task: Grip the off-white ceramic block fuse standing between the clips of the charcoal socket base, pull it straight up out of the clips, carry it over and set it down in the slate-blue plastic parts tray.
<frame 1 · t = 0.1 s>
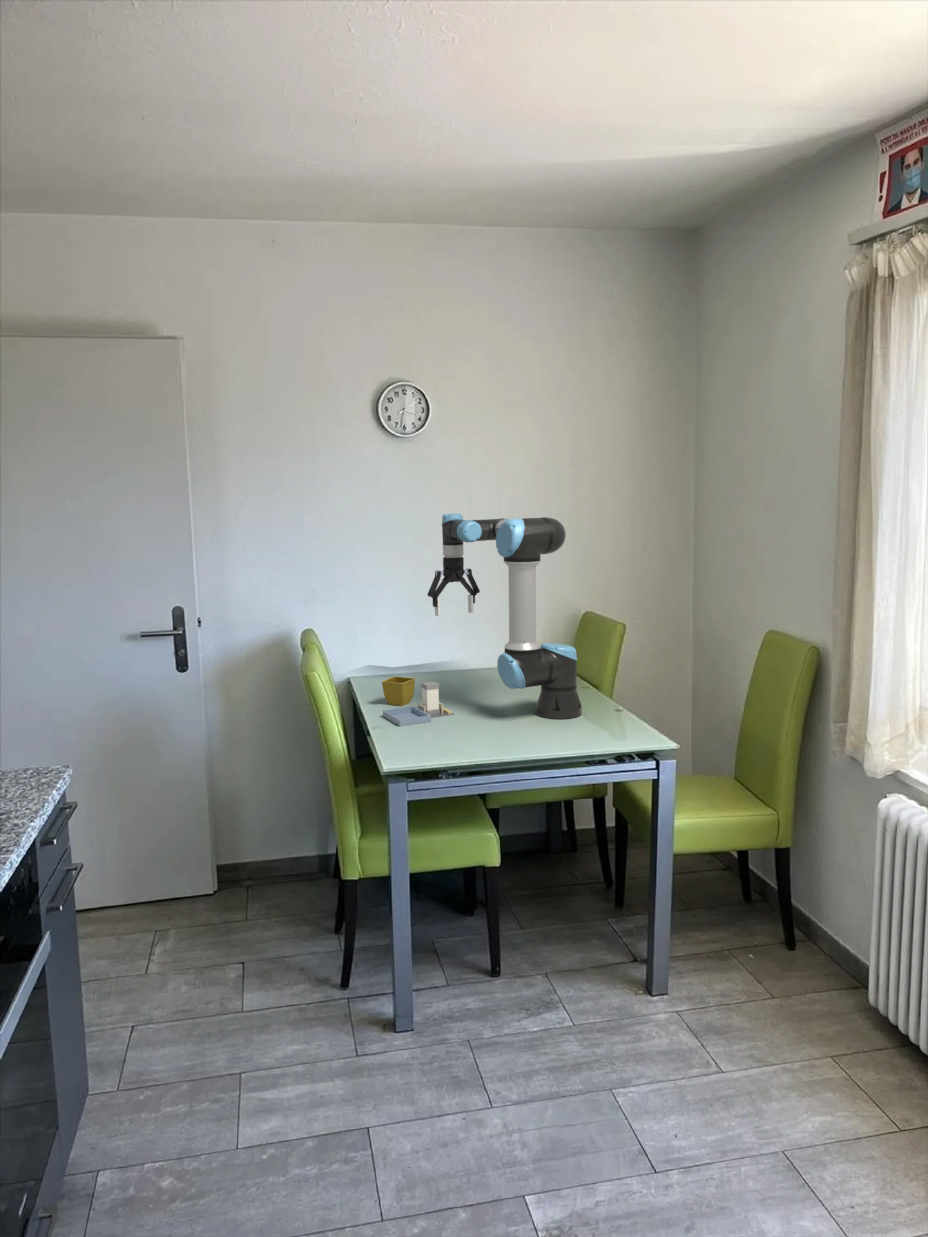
hand: (454, 614, 334), 28 cm above the table, fingers open, 13 cm apart
tray: (406, 720, 296), on the table
flower pot: (399, 705, 316), on the table
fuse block: (433, 713, 303), on the table
fuse: (430, 712, 303), resting on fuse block
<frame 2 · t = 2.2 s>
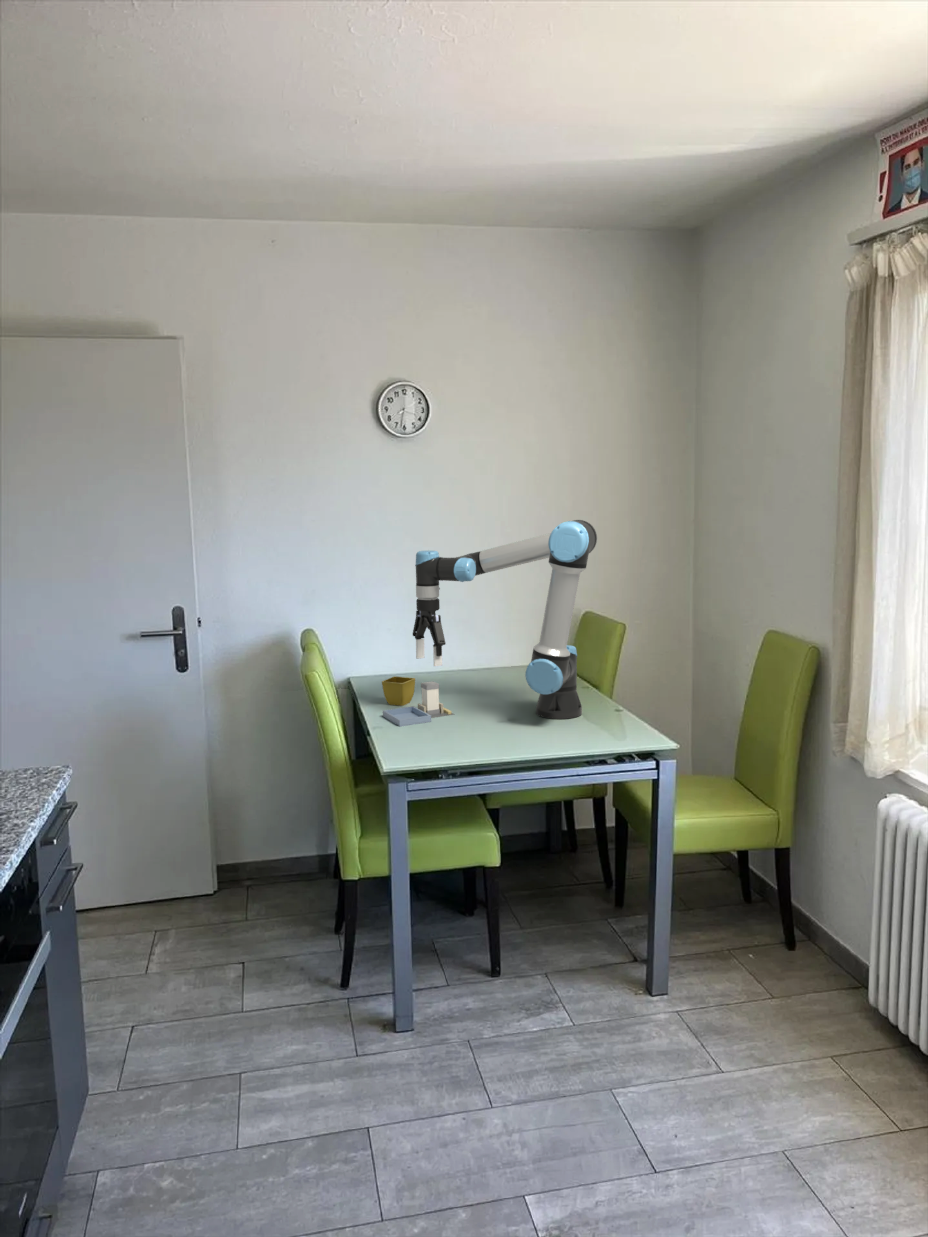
hand: (428, 662, 300), 18 cm above the table, fingers open, 13 cm apart
nothing on the table moved.
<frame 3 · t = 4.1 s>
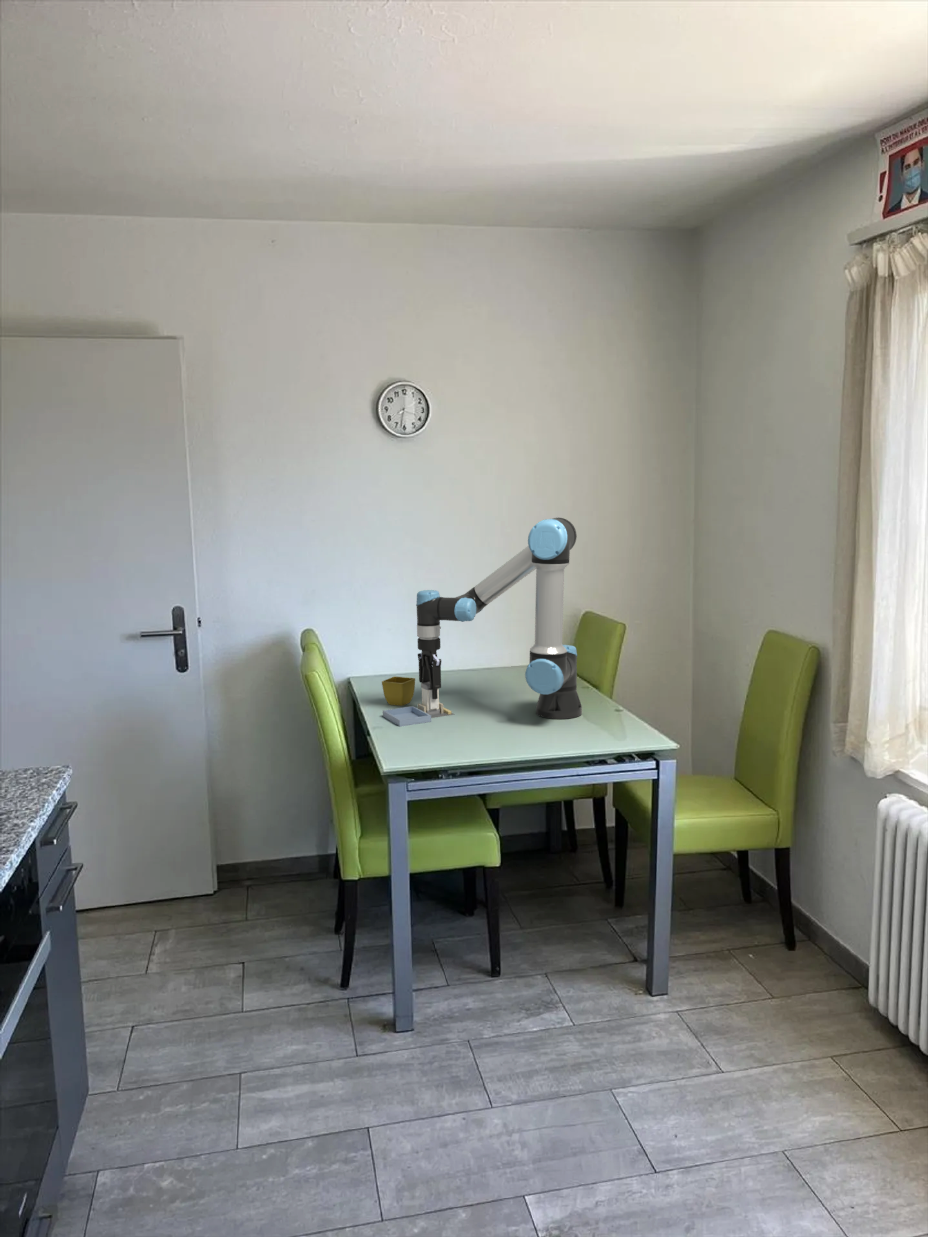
hand: (430, 706, 302), 3 cm above the table, fingers closed on fuse, 4 cm apart
fuse: (430, 712, 303), point 1 cm above the table, touching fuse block, gripper
everything else where it was.
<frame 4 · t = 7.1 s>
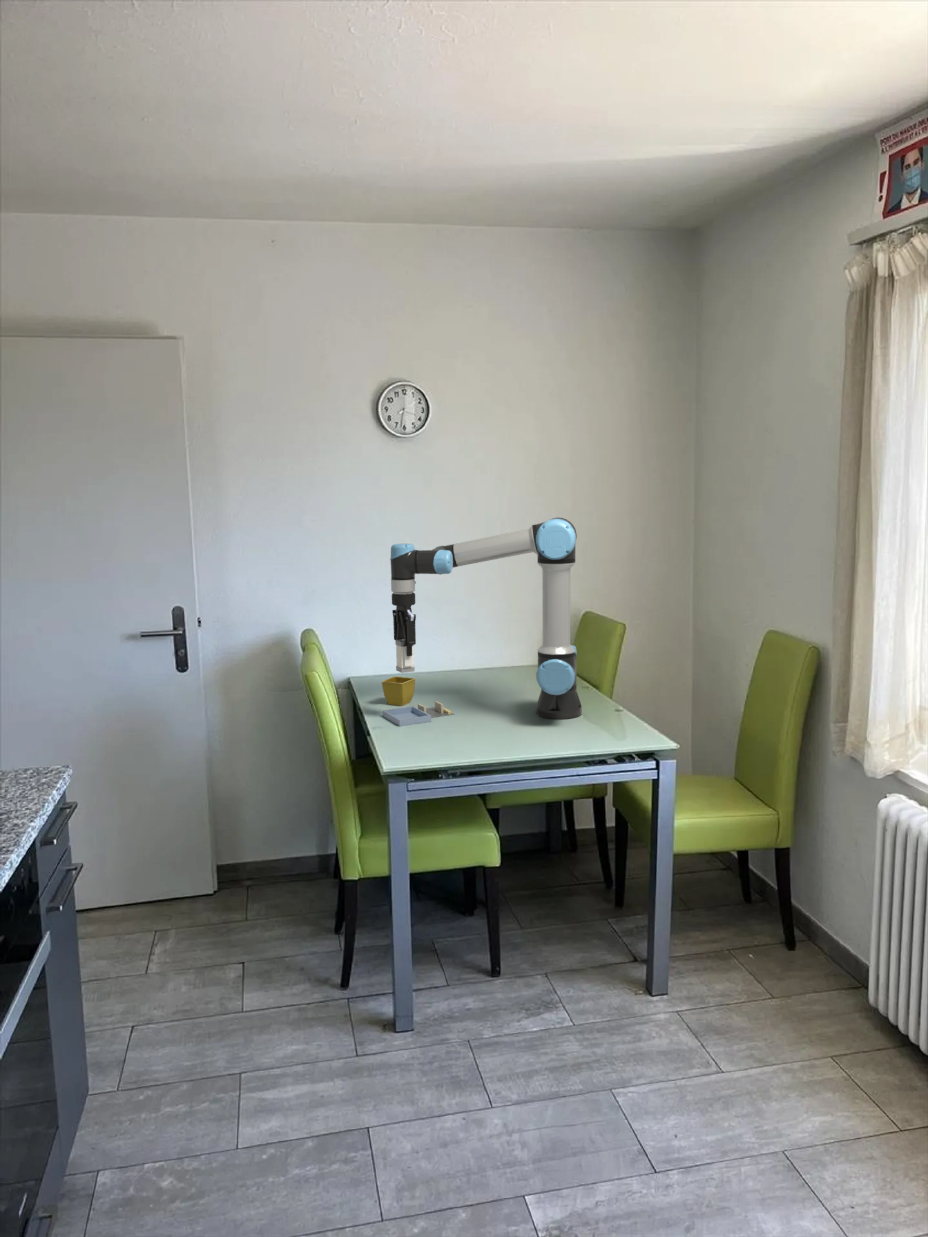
hand: (405, 664, 293), 19 cm above the table, fingers closed on fuse, 4 cm apart
fuse: (405, 670, 293), point 16 cm above the table, touching gripper
everything else where it was.
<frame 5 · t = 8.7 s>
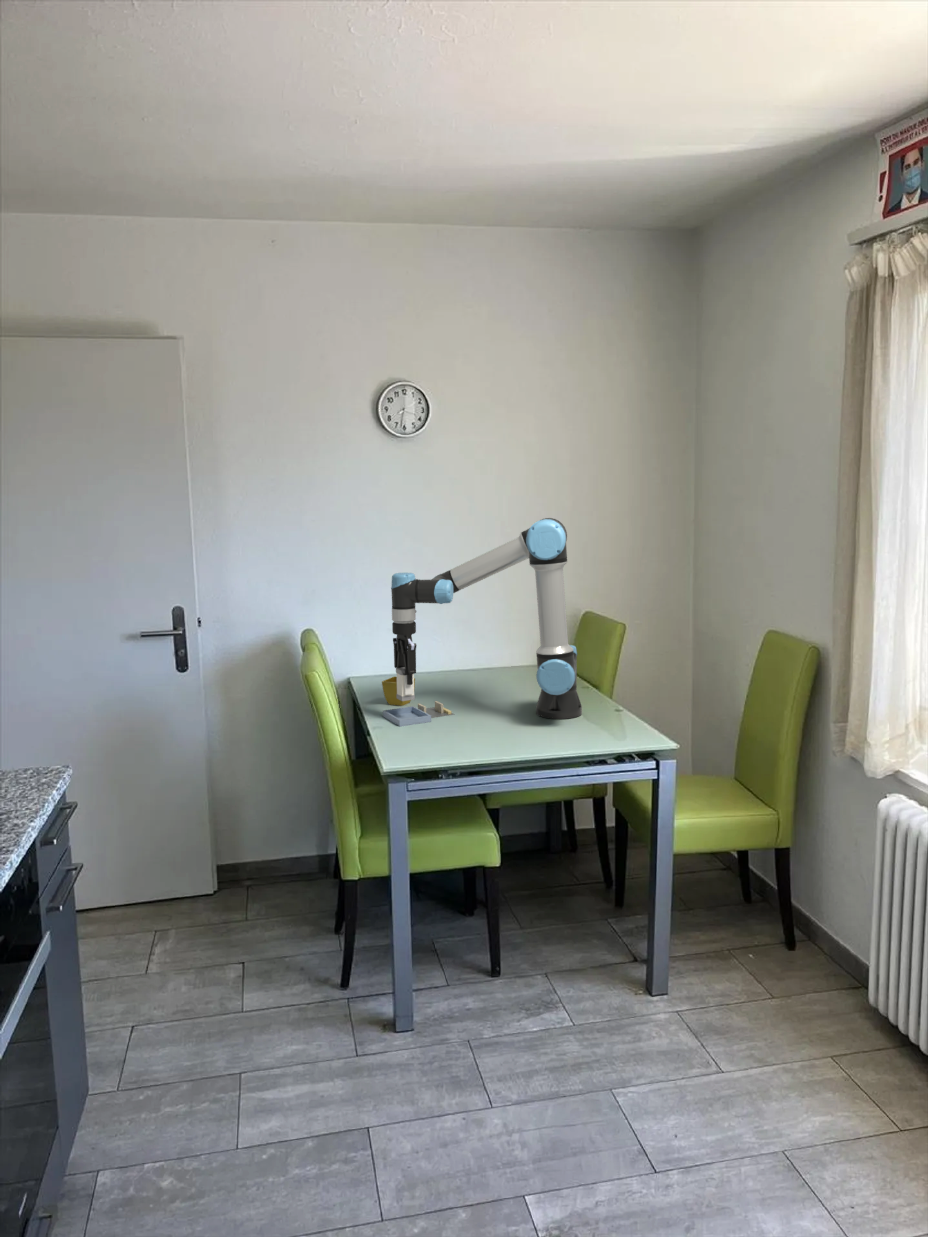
hand: (405, 692, 294), 9 cm above the table, fingers closed on fuse, 4 cm apart
fuse: (405, 698, 294), point 7 cm above the table, touching gripper
everything else where it was.
when the fingers open (4 cm above the table, at t = 10.0 s): fuse drops 1 cm, resting on tray.
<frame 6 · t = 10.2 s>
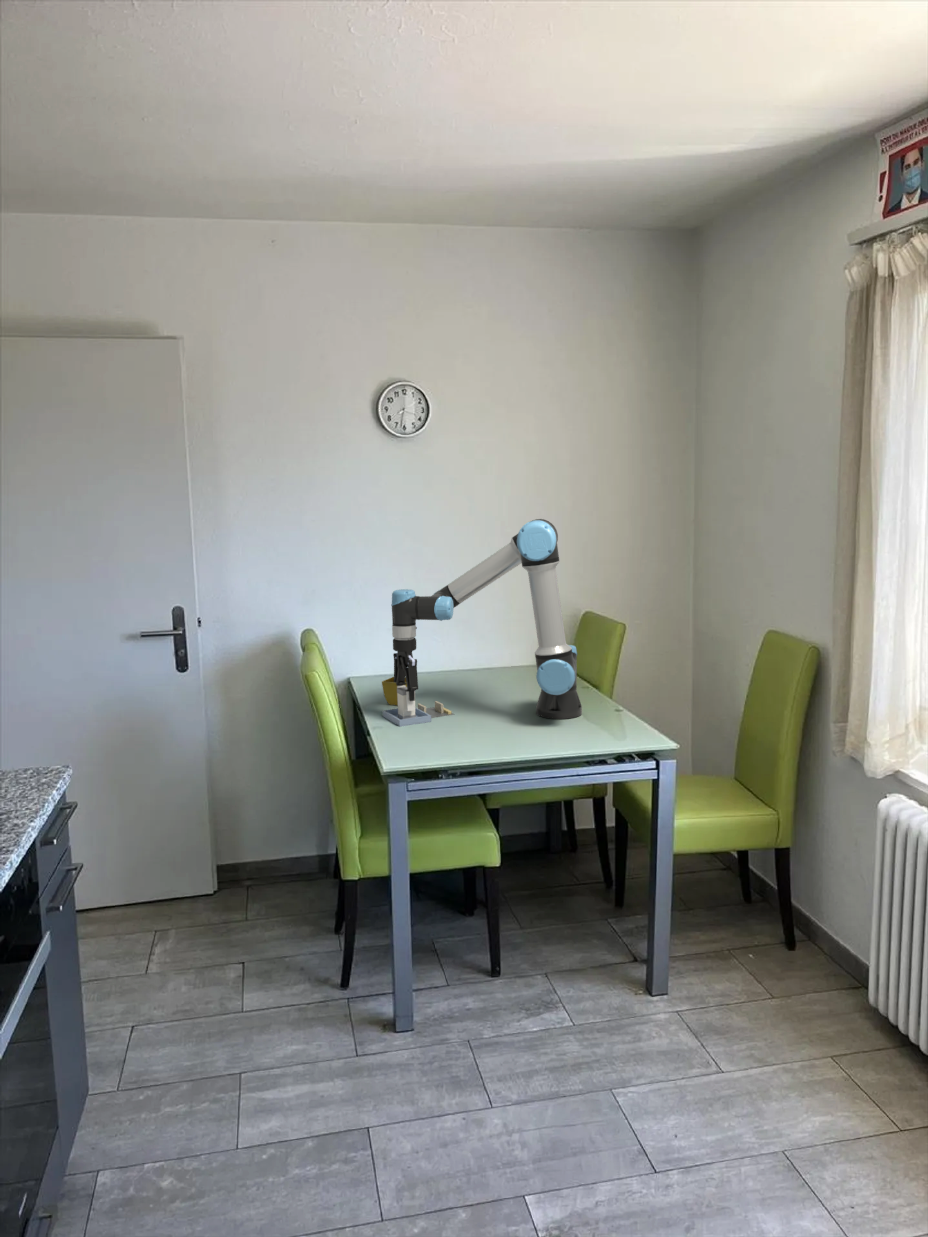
hand: (406, 707, 295), 4 cm above the table, fingers open, 7 cm apart
fuse: (406, 718, 295), point 1 cm above the table, touching tray
everything else where it was.
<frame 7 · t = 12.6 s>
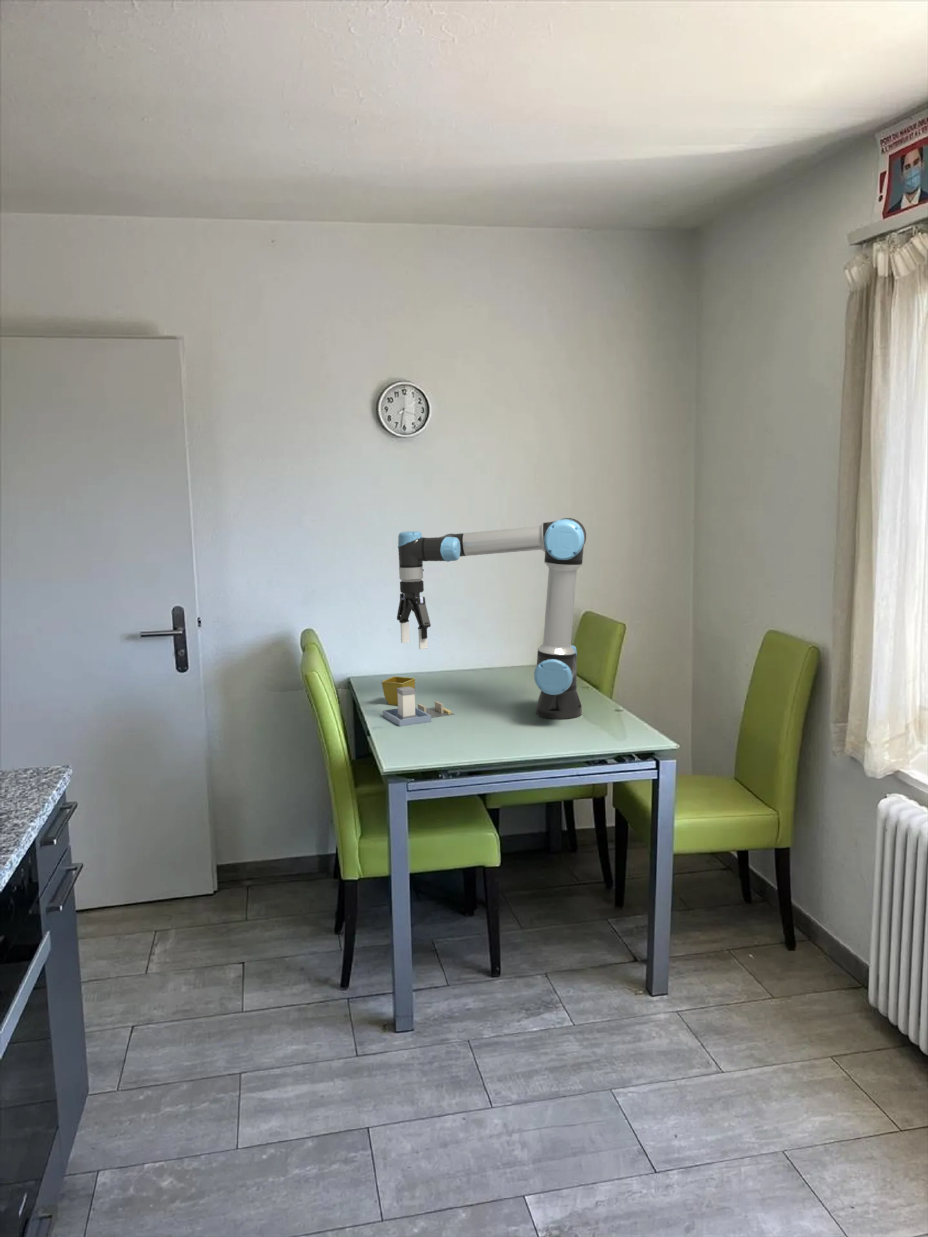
hand: (414, 645, 293), 24 cm above the table, fingers open, 13 cm apart
nothing on the table moved.
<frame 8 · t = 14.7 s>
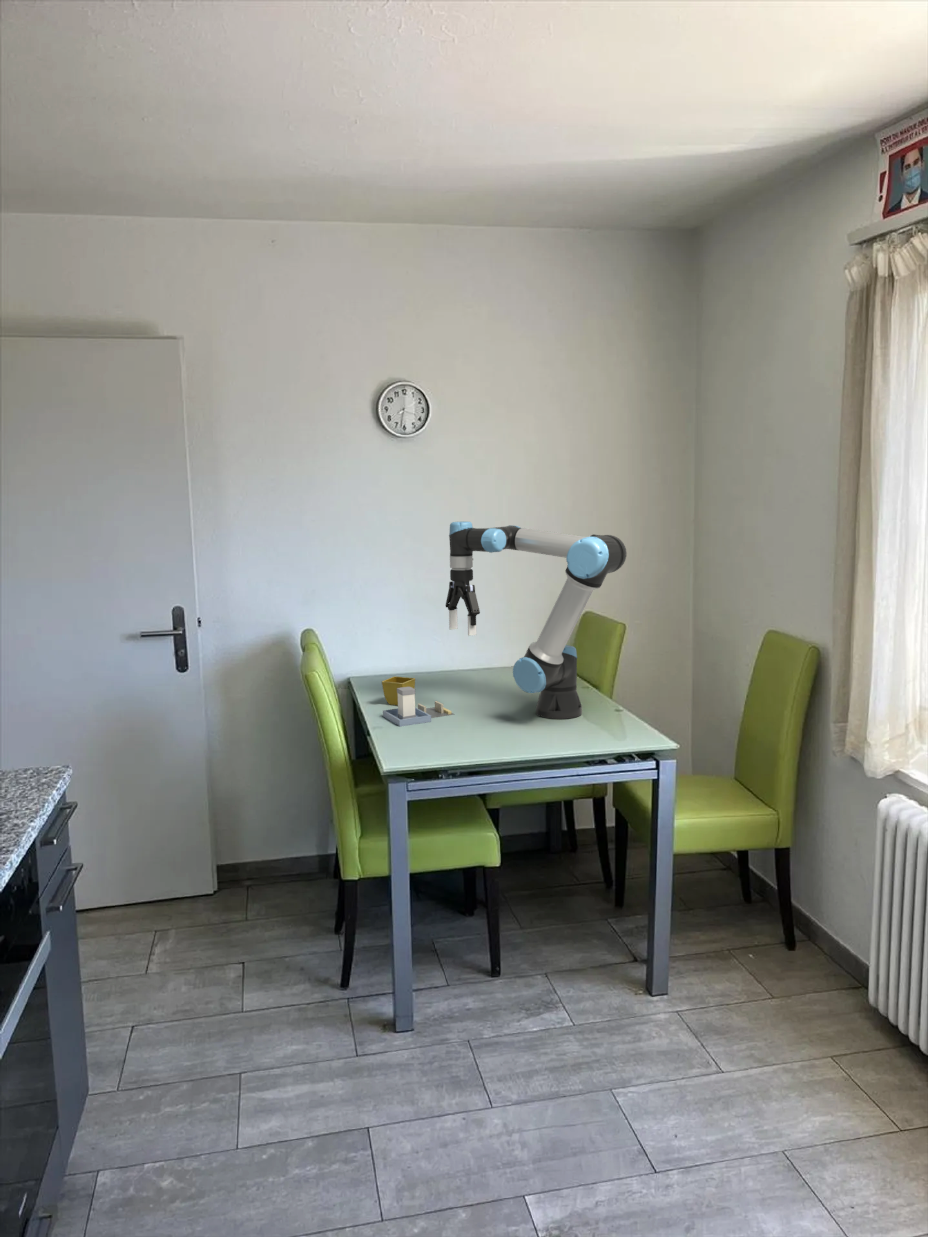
hand: (462, 632, 303), 27 cm above the table, fingers open, 13 cm apart
nothing on the table moved.
at the end: fuse inside the target area on the tray (0.0 cm from its centre), point 0.6 cm above the tray's base; the gripper is holding nothing; fuse touching tray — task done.
